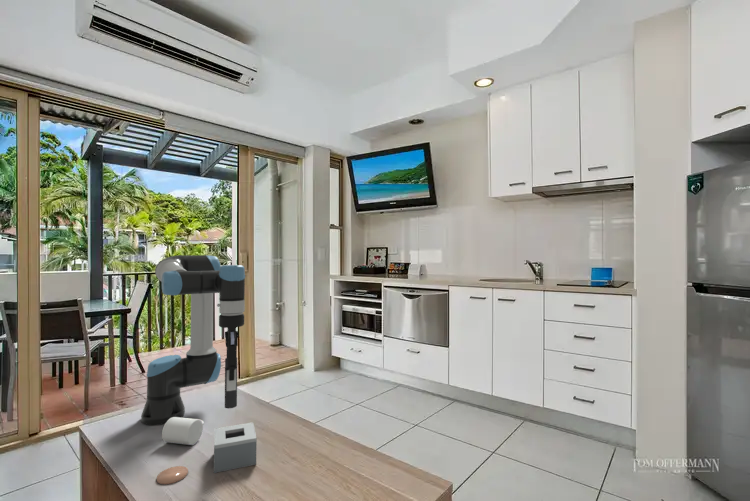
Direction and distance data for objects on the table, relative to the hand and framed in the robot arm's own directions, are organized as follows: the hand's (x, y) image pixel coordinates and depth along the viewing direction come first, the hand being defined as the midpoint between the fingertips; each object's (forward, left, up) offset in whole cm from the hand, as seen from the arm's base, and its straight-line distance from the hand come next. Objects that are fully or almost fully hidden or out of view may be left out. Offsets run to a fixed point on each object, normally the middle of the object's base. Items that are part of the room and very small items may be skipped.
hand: (230, 387), depth 117 cm
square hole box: (0, +1, -22) cm, 23 cm away
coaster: (+3, -16, -22) cm, 28 cm away
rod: (0, 0, -6) cm, 6 cm away
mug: (-20, -14, -23) cm, 33 cm away
